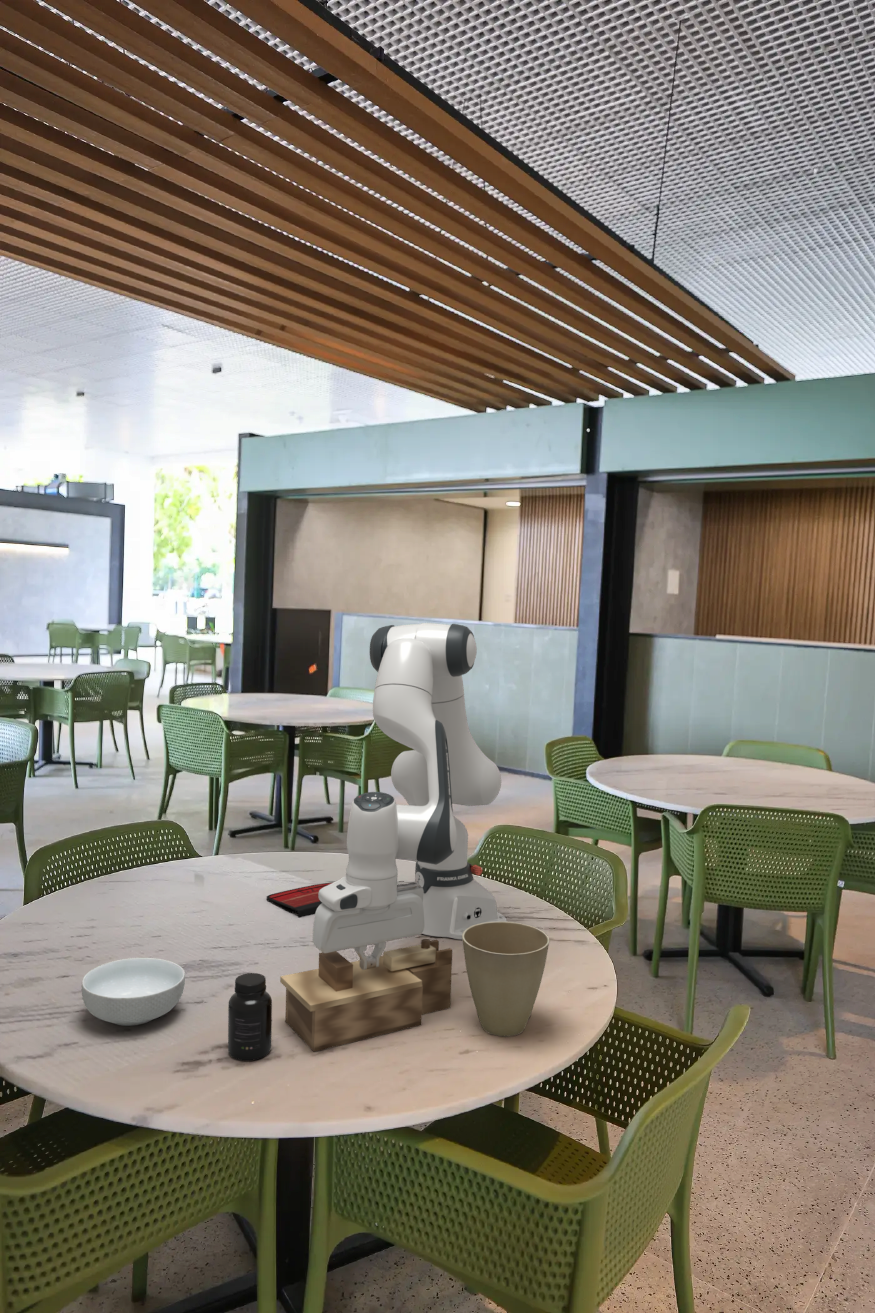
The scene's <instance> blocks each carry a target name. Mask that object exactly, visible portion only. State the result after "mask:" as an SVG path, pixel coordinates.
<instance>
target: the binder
mask: <svg viewBox="0 0 875 1313" xmlns="http://www.w3.org/2000/svg"><path fill="white" fill-rule="evenodd" d="M334 882H335V881H334ZM334 882H333V881H332V882H325V883H317V884H311V885H306V886H301V887H298V888H292V889H287V890H282V891H279V892H276V893H272V894H271V893H270V894H269V895H267V896H266V899H265V900H267V901H268V902H269V903H271V904H273V905H275V906H276V907H278V908H280V909H281V910H283V911H285V912H286V913H290V914H293V913H298V918H299V919H300V918H304V917H308V916H312V915H315V913H316V910H317V908H318V906H319V905H320V904H322V902H321V901H320V900H319V897H318V894H319V890H320V889H322V888H323V887H325V886H327V885H330V884H332V883H334Z"/></svg>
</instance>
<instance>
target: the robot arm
mask: <svg viewBox="0 0 875 1313" xmlns="http://www.w3.org/2000/svg"><path fill="white" fill-rule="evenodd" d="M475 639H476V638H475V635H474V633H473V632H472V630H470V628H469V627H468V626H467V625H462V624H459V623H457V624H456V623H452V624H447V623H446V624H445V623H434V622H421V623H413V624H401V625H396V626H395V625H394V624H391V625H385V626H381V627H379V628H377V630H376V631H375V632H374V633H373V634H372V635H371V638H370V642H369V659H370V663H371V665H372V667H373V669H374V670H375V671H376V672H377V674H376V680H375V686H374V692H373V699H372V717H373V721H375V724H376V726H377V727H378V728H379V730H380V731H381V732H382V733H383V734H384V735H386V736H387V737H389V738H390V739H392V740H393V741H395V742H398V743H399V744H401V745H403V746H406V747H407V748H410V749H412V750H404V751H402V752H401V753H400V754H398V755H397V757H395V759H394V761H393V763H392V766H391V772H390V777H391V782H392V784H393V787H394V789H395V790H396V791H397V792H398V793H399V794H400V795H401V796H402V797H403V799H404V800H405V801H406V802H407V804H399V803H397V802H396V799H395V797H394V796H392V795H391V794H389V793H386V792H382V791H381V792H380V791H369V792H364V793H361V794H359V795H357V796H355V798H353V800H352V802H351V806H350V812H349V818H348V824H347V831H346V832H347V833H346V834H347V835H346V850H347V854H348V862H347V865H346V869H345V875H344V876H342V877H341V878H340V879H338V880H336V881H335V880H334V883H332V884H330V885H327V886H325V887H323V888H322V889H320V890H319V894H318V897H319V900H320V901H321V902H322V904H320V905H319V906H318V908H317V910H316V913H315V914H314V919H313V926H312V943H313V945H314V947H315V948H316V949H317V950H318V951H320V953H330V952H335V951H337V952H339V951H345V950H349V949H354V951H355V952H356V955H357V956H358V958H359V960H360V964H359V965H360V968H361V969H362V970H366V969H370V968H375V967H379V958H380V956H382V954H383V953H384V952H385V950H386V942H390V941H396V940H402V939H406V938H410V937H411V938H412V937H415V936H421V935H422V934H423V935H425V936H431V937H440V938H441V937H442V938H451V939H453V940H454V939H455V940H463V939H462V934H463V932H464V931H465V930H466V929H467V928H469V927H471V926H473V925H476V924H480V923H485V922H501V921H502V922H508V920H507V918H506V916H504V914H502V913H501V912H499V911H498V906H497V900H496V898H495V895H494V894H493V893H492V892H491V891H489V889H487V888H486V887H484V885H482V884H481V883H480V882H478V881H477V880H476V879H474V875H475V876H476V877H477V876H481V875H482V874H483V867H481V866H479V865H477V864H473V865H472V864H471V863H470V862H468V850H469V849H468V848H469V833H468V829H467V827H466V825H465V824H464V823H463V822H462V821H461V820H460V819H459V818H457V817H456V815H454V809H453V805H458V806H459V805H460V806H465V807H479V806H489V805H491V804H492V803H493V802H494V801H495V800H496V798H497V797H498V796H499V794H500V791H501V787H502V775H501V772H500V769H499V767H498V766H497V764H496V763H495V762H494V761H492V760H491V759H490V758H489V757H487V755H486V754H485V753H484V752H483V751H482V750H481V748H480V747H479V746H478V745H477V742H476V740H475V739H474V737H473V735H472V733H471V731H470V728H469V724H468V718H467V711H466V700H465V688H464V681H463V676H464V675H466V674H467V673H468V672H470V671H471V670H472V669H473V667H474V664H475V660H476V657H477V649H478V648H477V643H476V640H475ZM396 859H397V860H408V861H416V862H415V867H414V868H415V870H414V871H415V872H414V882H412V881H411V882H408V883H399V884H398V865H397V862H396ZM369 945H370V946H371V945H374V948H372V949H373V950H372V952H371V954H367V955H366V954H365V952H367V948H368V947H367V946H369Z"/></svg>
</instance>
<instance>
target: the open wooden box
mask: <svg viewBox="0 0 875 1313" xmlns="http://www.w3.org/2000/svg"><path fill="white" fill-rule="evenodd" d="M430 945H431V946H433V947H434V948H436V960H435V962H433V963H428V964H424V965H419V966H414V967H409V968H405V969H406V970H408V971H409V972H411V973H412V974H413V975H415V976H416V977H417V978H419V979H420V980H422V987H417V988H413V989H408V990H404V991H400V992H395V993H391V994H386V995H382V996H377V997H373V998H369V999H364V1000H360V1001H355V1002H351V1003H346V1004H342V1005H338V1006H333V1007H329V1008H324V1009H320V1010H315V1011H311V1012H310V1011H309V1010H308V1009H307V1008H306V1007H305V1006H304V1005H303V1004H302V1003H301V1002H300V1001H299V1000H298V999H297V998H296V997H295V996H294V995H293V994H292V993H291V992H290V991H289V990H288V989H287V988H286V987H285V1018H284V1020H285V1022H286V1024H287V1025H288V1026H289V1027H290V1028H291V1029H292V1030H293V1031H294V1032H295V1033H296V1034H297V1036H298V1037H299V1038H301V1040H302V1041H303V1042H304V1043H305V1044H306V1045H307V1046H308V1048H309V1049H310V1050H312V1052H314V1053H315V1052H319V1051H323V1050H327V1049H332V1048H335V1047H340V1046H343V1045H347V1044H352V1043H355V1042H359V1041H363V1040H366V1039H371V1038H375V1037H379V1036H383V1035H387V1034H391V1033H392V1034H393V1033H395V1032H399V1031H402V1030H403V1031H404V1030H407V1029H412V1028H415V1027H420V1026H422V1019H423V1018H422V1016H423V1015H427V1014H431V1013H435V1012H438V1011H443V1010H447V1009H451V1000H452V976H453V975H452V974H453V973H452V972H453V949H452V948H451V947H449V948H445V949H439V948H440V940H438V939H432V940H430Z"/></svg>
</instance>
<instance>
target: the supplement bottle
mask: <svg viewBox="0 0 875 1313" xmlns="http://www.w3.org/2000/svg"><path fill="white" fill-rule="evenodd" d="M266 979H267V978H266V977H265V975H263V974H261V973H257V972H256V973H255V972H249V973H243V974H240V975H238V976H237V977H235V980H234V993H233V994H232V995H231V996H230V998H229V1000H228V1009H227V1010H228V1011H227V1012H228V1013H227V1014H228V1016H227V1017H228V1018H227V1049H228V1054H229V1055H230V1057H231V1058H233V1059H236V1060H238V1061H244V1062H246V1061H247V1062H248V1061H249V1062H251V1061H257V1060H260V1059H262V1058H264V1057H266V1056H267V1055H268V1054H269V1053H270V1051H271V1049H272V1028H273V1026H272V1022H273V1018H272V1016H273V1013H272V1012H273V1005H272V1003H273V1000H272V997H271V995H270V993H269V992H267V985H266V984H267V980H266Z"/></svg>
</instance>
